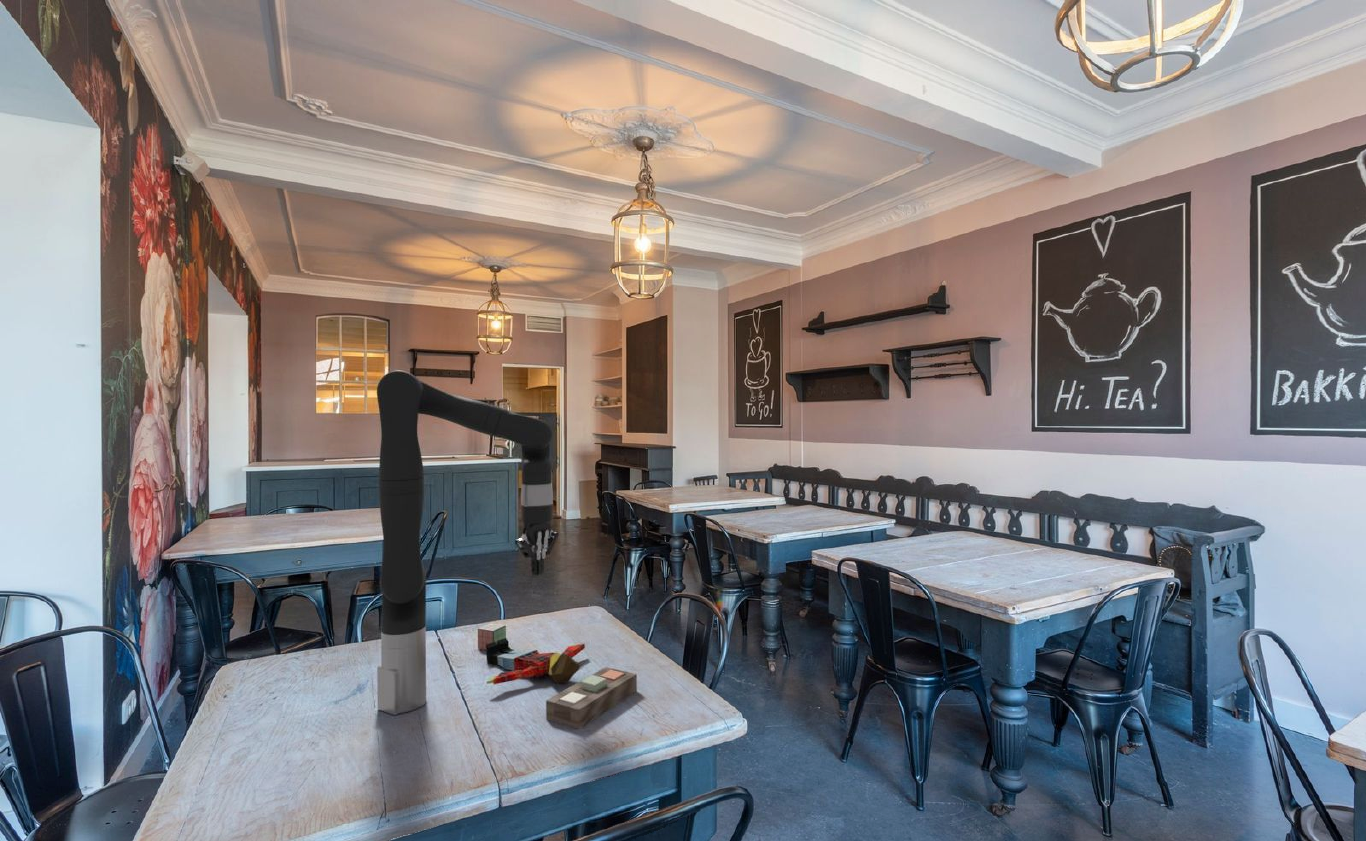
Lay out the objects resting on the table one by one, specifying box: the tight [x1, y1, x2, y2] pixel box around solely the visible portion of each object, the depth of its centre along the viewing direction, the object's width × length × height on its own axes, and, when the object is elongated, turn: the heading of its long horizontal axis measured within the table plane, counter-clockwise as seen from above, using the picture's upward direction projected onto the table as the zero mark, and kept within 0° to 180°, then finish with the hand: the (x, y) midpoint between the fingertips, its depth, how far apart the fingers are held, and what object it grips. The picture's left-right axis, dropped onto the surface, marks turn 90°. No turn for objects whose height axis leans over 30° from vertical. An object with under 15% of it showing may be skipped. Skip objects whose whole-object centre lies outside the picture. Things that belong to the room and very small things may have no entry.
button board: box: [545, 666, 638, 730], centre depth 141 cm, size 21×9×4 cm, turn 150°
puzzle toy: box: [477, 623, 507, 651], centre depth 179 cm, size 6×6×6 cm
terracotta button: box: [600, 670, 624, 681], centre depth 147 cm, size 4×4×3 cm
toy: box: [485, 637, 586, 685], centre depth 160 cm, size 31×8×30 cm
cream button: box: [560, 692, 586, 705], centre depth 135 cm, size 4×4×3 cm
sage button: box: [580, 674, 606, 692], centre depth 141 cm, size 4×4×3 cm
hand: (537, 574), depth 151 cm, fingers closed
